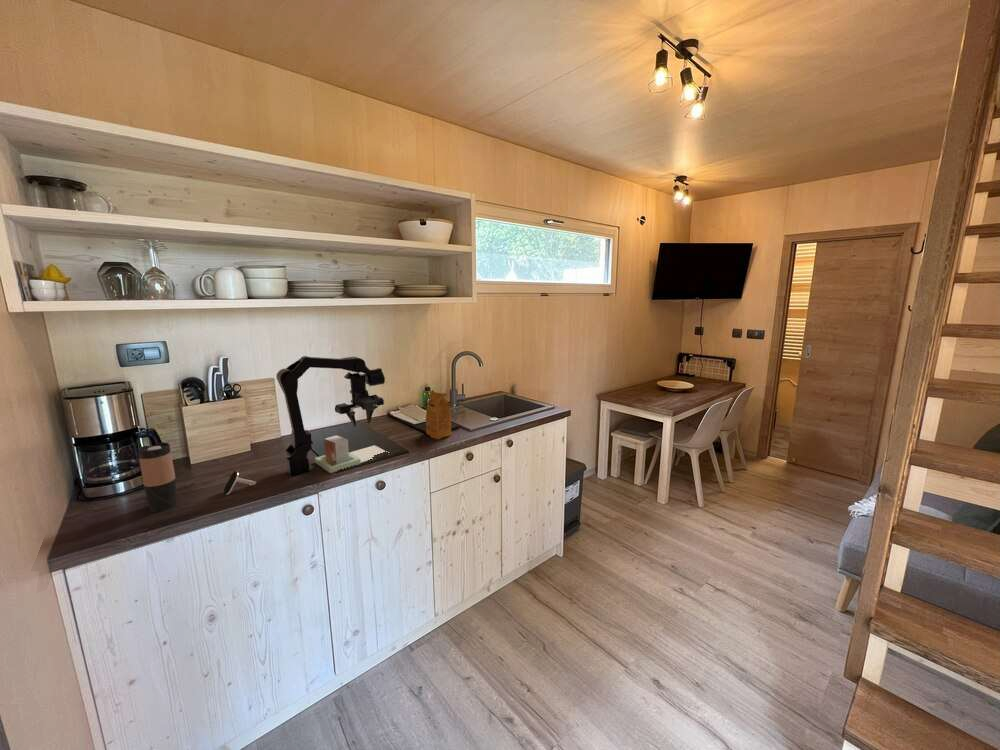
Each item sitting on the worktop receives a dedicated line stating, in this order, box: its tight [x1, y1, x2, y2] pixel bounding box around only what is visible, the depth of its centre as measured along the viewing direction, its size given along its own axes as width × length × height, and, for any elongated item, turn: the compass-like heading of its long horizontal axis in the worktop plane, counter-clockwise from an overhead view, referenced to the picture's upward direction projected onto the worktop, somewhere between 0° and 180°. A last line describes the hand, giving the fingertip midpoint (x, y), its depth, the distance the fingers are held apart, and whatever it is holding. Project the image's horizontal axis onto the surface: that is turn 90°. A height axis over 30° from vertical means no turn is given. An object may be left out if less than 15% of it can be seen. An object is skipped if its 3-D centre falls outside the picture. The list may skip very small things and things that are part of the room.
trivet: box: [349, 445, 390, 463], centre depth 168 cm, size 13×13×1 cm
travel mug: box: [137, 442, 179, 513], centre depth 125 cm, size 8×8×20 cm
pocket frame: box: [314, 453, 362, 474], centre depth 159 cm, size 12×14×2 cm
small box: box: [323, 434, 350, 465], centre depth 158 cm, size 8×6×10 cm
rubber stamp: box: [223, 471, 257, 496], centre depth 137 cm, size 8×5×8 cm
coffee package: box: [425, 388, 452, 440], centre depth 190 cm, size 10×12×22 cm
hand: (361, 424), depth 164 cm, fingers open, 6 cm apart
